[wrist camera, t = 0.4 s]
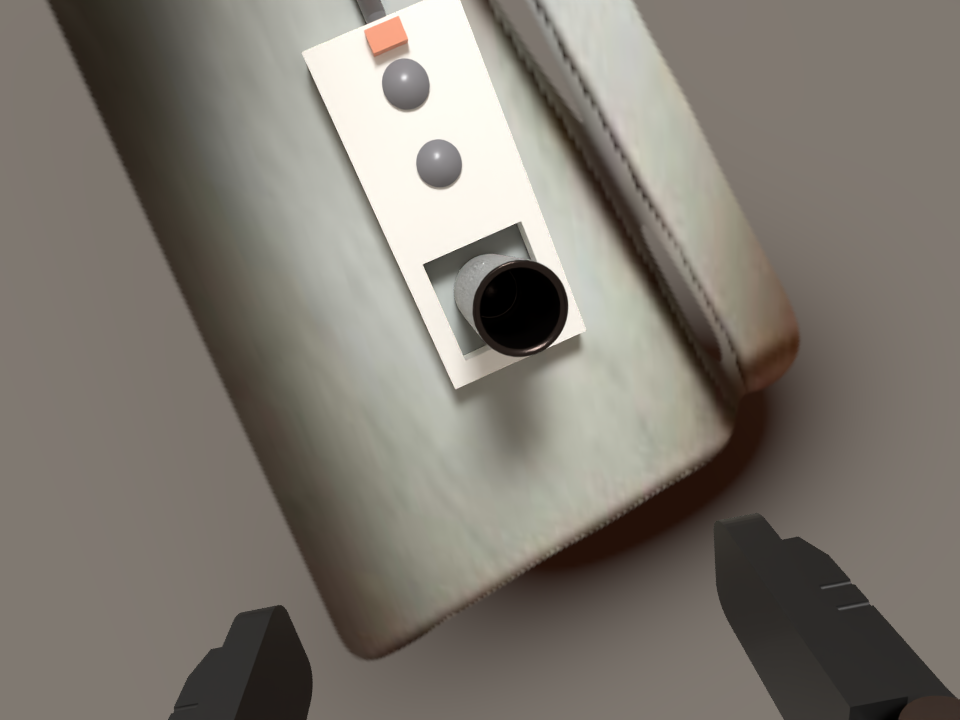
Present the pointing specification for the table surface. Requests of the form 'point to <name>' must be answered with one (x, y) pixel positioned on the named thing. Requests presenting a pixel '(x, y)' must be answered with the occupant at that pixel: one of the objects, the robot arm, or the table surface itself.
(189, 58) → the table surface
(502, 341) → the planter
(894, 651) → the robot arm
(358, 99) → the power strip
